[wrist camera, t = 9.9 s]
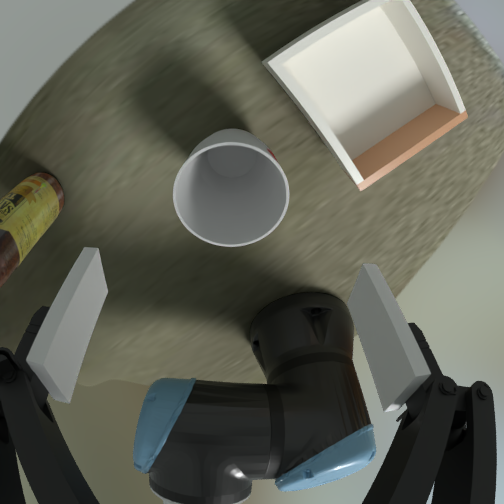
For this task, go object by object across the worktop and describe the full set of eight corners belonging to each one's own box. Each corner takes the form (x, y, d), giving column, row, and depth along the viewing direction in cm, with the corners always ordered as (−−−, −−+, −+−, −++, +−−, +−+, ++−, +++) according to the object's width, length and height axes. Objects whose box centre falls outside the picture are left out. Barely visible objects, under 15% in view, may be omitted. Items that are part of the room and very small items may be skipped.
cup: (267, 194, 32) (279, 250, 24) (189, 189, 31) (173, 243, 23) (278, 119, 28) (298, 148, 20) (192, 112, 27) (173, 138, 19)
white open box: (424, 99, 26) (468, 117, 20) (334, 160, 30) (360, 191, 24) (362, -2, 20) (400, -14, 14) (258, 62, 24) (267, 62, 18)
